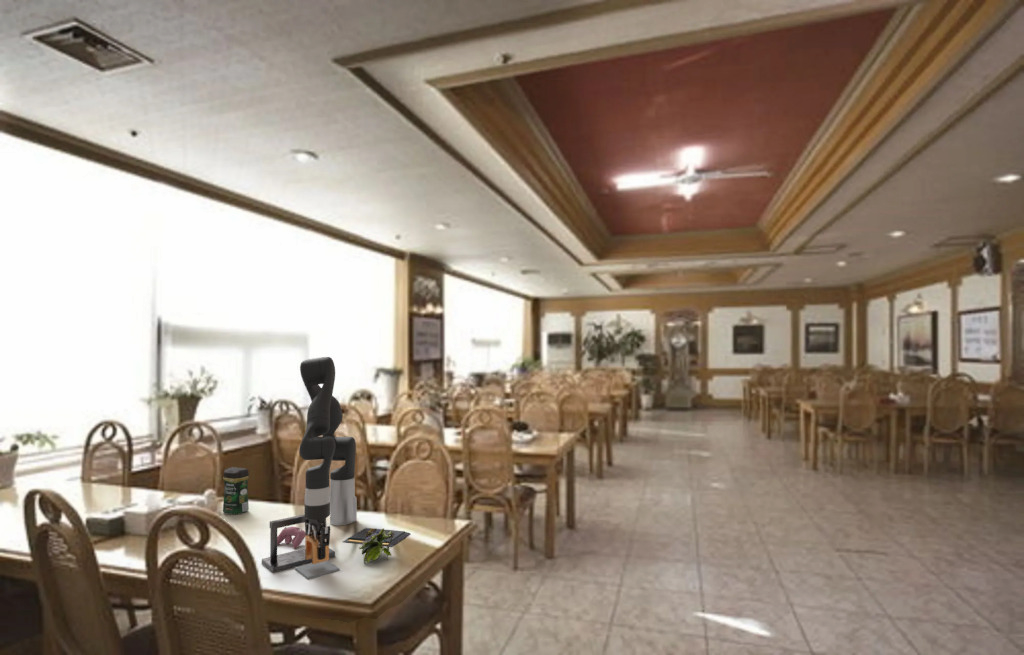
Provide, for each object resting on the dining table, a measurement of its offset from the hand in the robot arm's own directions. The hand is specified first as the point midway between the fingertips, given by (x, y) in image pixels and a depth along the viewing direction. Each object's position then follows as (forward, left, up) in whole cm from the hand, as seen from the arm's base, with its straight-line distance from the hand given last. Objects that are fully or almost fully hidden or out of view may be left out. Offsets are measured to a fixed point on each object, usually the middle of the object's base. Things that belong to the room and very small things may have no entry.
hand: (317, 555), depth 176 cm
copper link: (0, 0, -1) cm, 1 cm away
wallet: (-28, -14, -5) cm, 32 cm away
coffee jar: (0, -83, -4) cm, 83 cm away
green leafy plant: (-19, +4, -5) cm, 20 cm away
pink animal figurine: (-2, -28, -5) cm, 29 cm away
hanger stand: (+1, -12, -4) cm, 13 cm away
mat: (0, 0, -4) cm, 4 cm away
